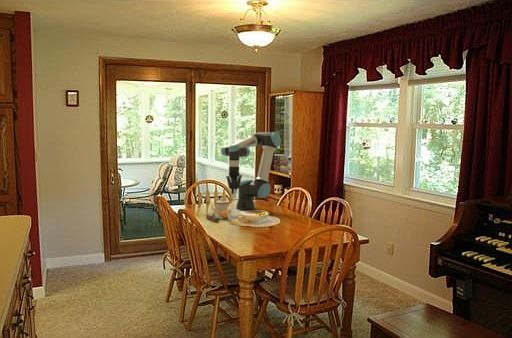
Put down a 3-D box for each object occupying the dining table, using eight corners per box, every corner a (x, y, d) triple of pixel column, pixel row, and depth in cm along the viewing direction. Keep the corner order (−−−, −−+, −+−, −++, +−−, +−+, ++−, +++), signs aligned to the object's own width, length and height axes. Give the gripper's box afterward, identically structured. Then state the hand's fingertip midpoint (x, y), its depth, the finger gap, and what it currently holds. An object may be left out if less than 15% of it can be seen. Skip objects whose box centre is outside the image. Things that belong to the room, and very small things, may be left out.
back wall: (206, 218, 327) (206, 214, 327) (208, 218, 328) (208, 214, 328) (215, 222, 315) (215, 218, 315) (218, 222, 317) (218, 217, 316)
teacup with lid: (227, 212, 350) (227, 197, 349) (228, 214, 341) (228, 199, 340) (211, 212, 348) (211, 197, 347) (212, 215, 339) (212, 199, 338)
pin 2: (230, 220, 323) (230, 208, 322) (231, 220, 321) (231, 208, 320) (227, 220, 322) (227, 208, 321) (228, 221, 320) (228, 209, 319)
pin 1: (220, 216, 327) (211, 211, 322) (221, 216, 325) (212, 211, 320) (218, 219, 326) (209, 214, 322) (220, 219, 324) (211, 214, 320)
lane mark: (237, 215, 339) (237, 215, 339) (243, 217, 332) (243, 217, 332) (216, 218, 328) (216, 218, 328) (222, 220, 322) (222, 220, 322)
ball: (218, 211, 327) (220, 219, 328) (222, 212, 322) (224, 220, 324) (225, 208, 330) (226, 216, 332) (229, 210, 326) (231, 217, 327)
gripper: (238, 165, 335) (238, 196, 337) (223, 166, 327) (223, 198, 330) (244, 166, 328) (244, 198, 331) (229, 166, 321) (228, 199, 324)
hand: (233, 198), depth 330 cm, fingers closed
